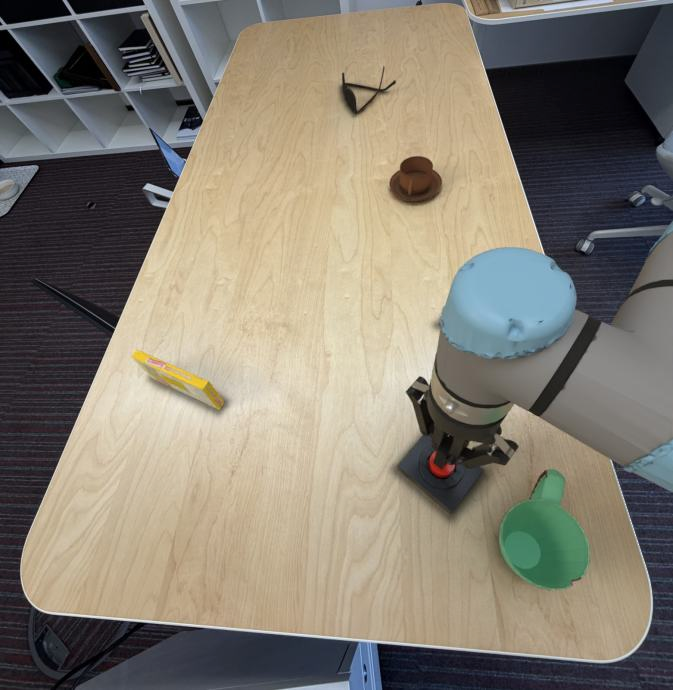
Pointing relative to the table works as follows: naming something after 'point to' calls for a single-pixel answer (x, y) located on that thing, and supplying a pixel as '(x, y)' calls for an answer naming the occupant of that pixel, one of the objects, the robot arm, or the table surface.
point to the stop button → (436, 470)
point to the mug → (544, 537)
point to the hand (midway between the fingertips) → (443, 459)
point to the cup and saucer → (415, 180)
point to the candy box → (179, 379)
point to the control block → (438, 488)
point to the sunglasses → (350, 95)
